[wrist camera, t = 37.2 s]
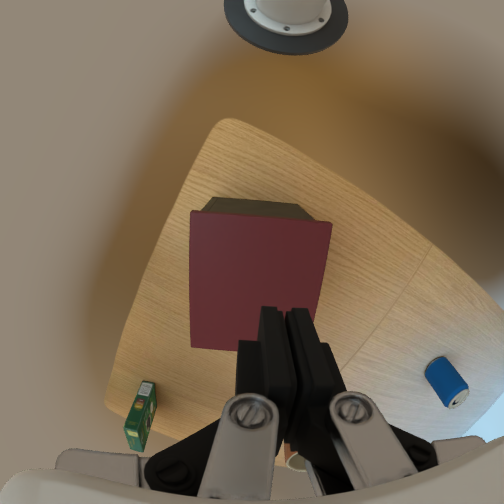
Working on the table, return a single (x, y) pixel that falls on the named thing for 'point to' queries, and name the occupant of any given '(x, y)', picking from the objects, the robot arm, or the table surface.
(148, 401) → the coffee box
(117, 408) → the table surface
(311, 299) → the keepsake box lid
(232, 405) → the robot arm
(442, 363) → the beverage can
